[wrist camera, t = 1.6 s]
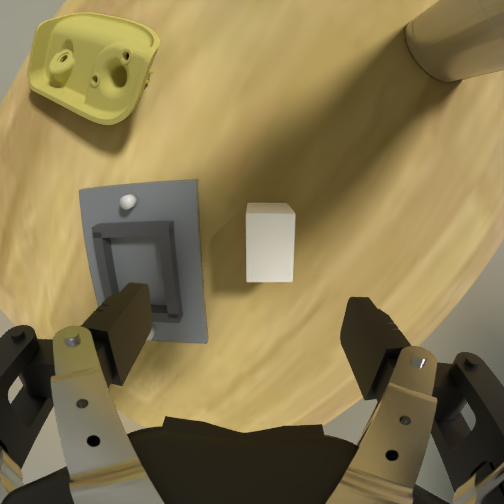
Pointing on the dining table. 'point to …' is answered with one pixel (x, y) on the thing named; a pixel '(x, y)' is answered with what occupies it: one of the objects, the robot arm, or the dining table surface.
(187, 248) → the housing plate
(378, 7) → the dining table surface
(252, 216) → the block
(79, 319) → the dining table surface
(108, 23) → the plastic component
